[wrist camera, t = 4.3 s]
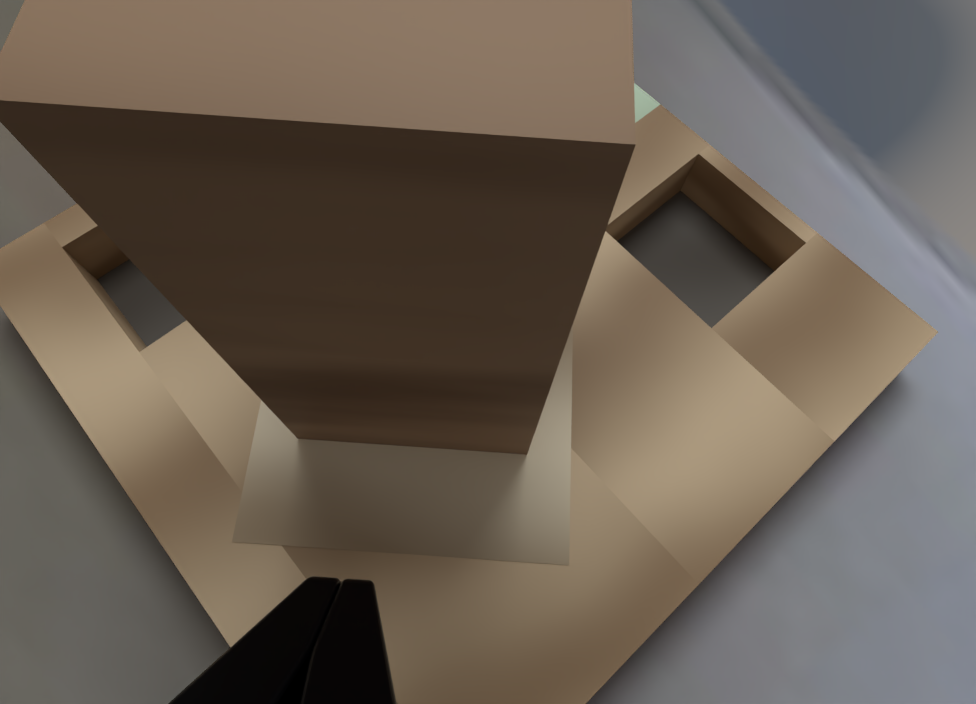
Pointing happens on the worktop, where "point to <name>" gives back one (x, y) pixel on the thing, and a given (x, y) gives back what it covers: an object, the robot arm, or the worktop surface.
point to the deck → (489, 475)
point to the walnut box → (347, 189)
